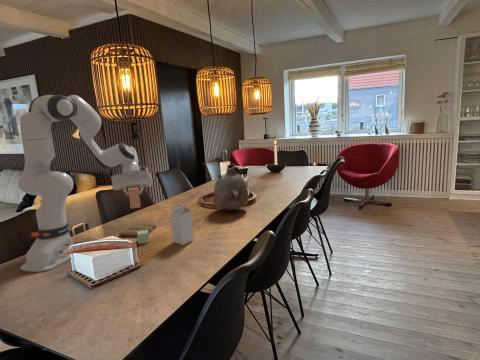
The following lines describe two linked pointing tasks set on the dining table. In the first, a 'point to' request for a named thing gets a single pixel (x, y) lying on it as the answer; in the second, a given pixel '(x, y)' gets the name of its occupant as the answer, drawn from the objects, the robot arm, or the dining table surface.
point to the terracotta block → (134, 197)
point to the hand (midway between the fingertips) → (134, 194)
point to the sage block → (143, 236)
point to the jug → (230, 190)
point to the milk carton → (182, 224)
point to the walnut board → (133, 230)
